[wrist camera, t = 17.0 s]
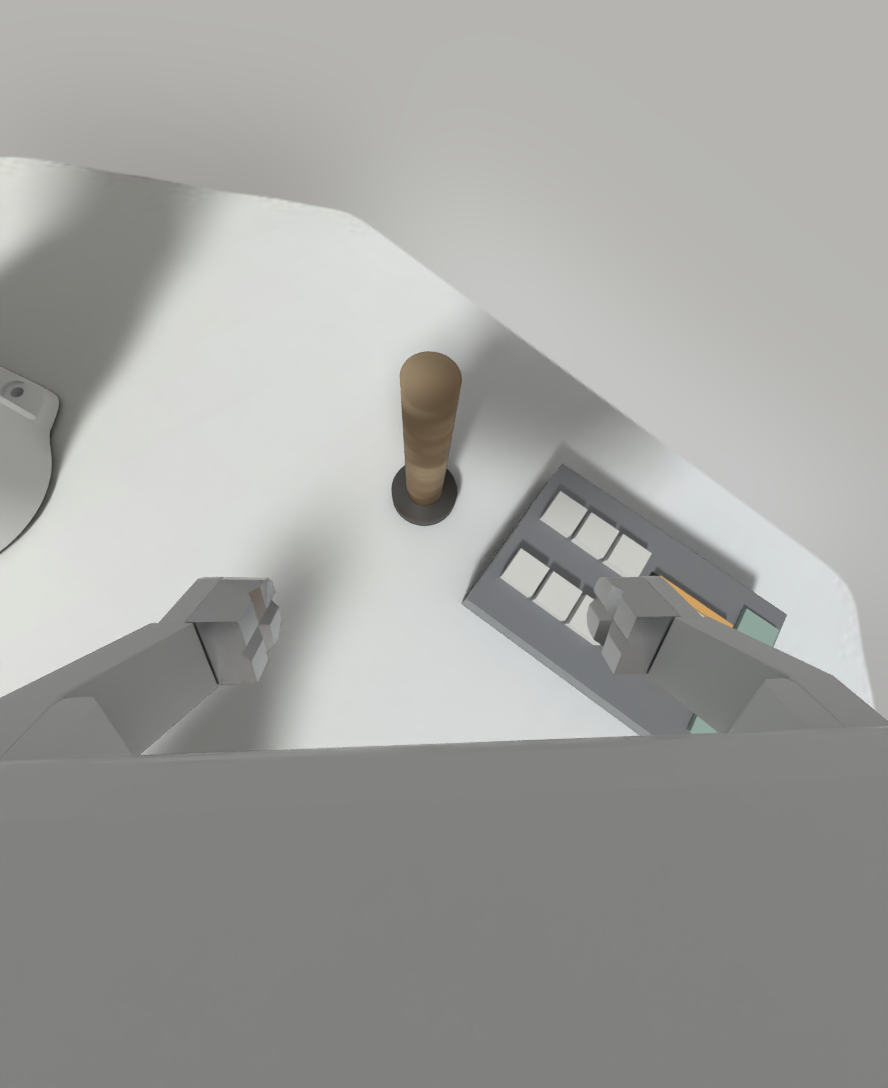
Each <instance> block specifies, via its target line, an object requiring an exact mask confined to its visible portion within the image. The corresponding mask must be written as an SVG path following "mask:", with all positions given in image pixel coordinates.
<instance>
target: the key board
mask: <svg viewBox="0 0 888 1088" xmlns="http://www.w3.org/2000/svg"><path fill="white" fill-rule="evenodd" d="M660 575H661V576H662V577H664V578H665V579H667V580H668V581H670V582H671V583H672V584H674V585H675V586H677V587H678V588H680V589H681V590H683V591H684V592H686V593H687V594H688V595H690V596H691V597H693V598H694V599H696V600H697V601H699V602H700V603H702V604H703V605H705V606H706V607H707V608H709V609H710V610H712V611H713V612H715V613H716V614H718V615H719V616H721V617H722V618H723V619H725V620H726V621H728V622H729V623H731V624H732V625H733V627H732V628H733V629H736V630H738V631H740V632H742V633H744V634H746V635H748V636H750V637H752V638H755V639H757V640H759V641H761V642H763V643H765V644H767V645H769V646H771V647H773V646H774V644H775V642H776V639H777V637H778V635H779V632H780V630H781V628H782V625H783V623H784V621H785V618H786V616H787V614H785V613H784V612H782V611H781V610H779V609H778V608H776V607H775V606H773V605H772V604H770V603H769V602H767V601H766V600H764V599H763V598H761V597H760V596H758V595H757V594H755V593H754V592H752V591H751V590H750V589H748V588H747V587H745V586H744V585H742V584H741V583H739V582H738V581H736V580H735V579H733V578H732V577H730V576H729V575H727V574H726V573H724V572H723V571H721V570H720V569H718V568H717V567H715V566H714V565H712V564H711V563H709V562H708V561H706V560H705V559H703V558H702V557H700V556H699V555H697V554H696V553H694V552H693V551H692V550H690V549H689V548H687V547H686V546H684V545H683V544H681V543H680V542H678V541H677V540H675V539H674V538H672V537H671V536H669V535H668V534H666V533H665V532H663V531H662V530H660V529H659V528H657V527H656V526H654V525H653V524H651V523H650V522H648V521H647V520H645V519H644V518H642V517H641V516H639V515H638V514H637V513H635V512H634V511H632V510H631V509H629V508H628V507H626V506H625V505H623V504H622V503H620V502H619V501H617V500H616V499H614V498H613V497H611V496H610V495H608V494H607V493H605V492H604V491H602V490H601V489H599V488H598V487H596V486H595V485H593V484H592V483H590V482H589V481H587V480H586V479H584V478H583V477H581V476H580V475H579V474H577V473H576V472H574V471H573V470H571V469H570V468H568V467H567V466H565V465H564V464H562V465H561V466H560V467H559V469H558V470H557V471H556V472H555V473H554V475H553V476H552V477H551V478H550V479H549V481H548V482H547V483H546V485H545V486H544V487H543V489H542V490H541V492H540V493H539V495H538V496H537V497H536V499H535V500H534V502H533V503H532V504H531V506H530V507H529V509H528V510H527V512H526V513H525V514H524V516H523V517H522V519H521V520H520V521H519V523H518V524H517V526H516V527H515V529H514V530H513V531H512V533H511V534H510V536H509V537H508V538H507V540H506V541H505V543H504V544H503V546H502V547H501V548H500V550H499V551H498V553H497V554H496V555H495V557H494V558H493V560H492V561H491V563H490V564H489V565H488V567H487V568H486V570H485V571H484V572H483V574H482V575H481V577H480V578H479V580H478V581H477V582H476V584H475V585H474V587H473V588H472V589H471V591H470V592H469V594H468V595H467V597H466V598H465V599H464V601H463V602H462V605H464V606H465V607H466V608H468V609H469V610H471V611H472V612H473V613H475V614H476V615H477V616H479V617H480V618H481V619H483V620H484V621H485V622H487V623H488V624H489V625H491V626H492V627H494V628H495V629H496V630H498V631H499V632H500V633H502V634H503V635H504V636H506V637H507V638H508V639H510V640H511V641H513V642H514V643H515V644H517V645H518V646H519V647H521V648H522V649H523V650H525V651H526V652H527V653H529V654H530V655H532V656H533V657H534V658H536V659H537V660H538V661H540V662H541V663H542V664H544V665H545V666H546V667H548V668H549V669H551V670H552V671H553V672H555V673H556V674H557V675H559V676H560V677H561V678H563V679H564V680H565V681H567V682H568V683H570V684H571V685H572V686H574V687H575V688H576V689H578V690H579V691H580V692H582V693H583V694H584V695H586V696H587V697H588V698H590V699H591V700H593V701H594V702H595V703H597V704H598V705H599V706H601V707H602V708H603V709H605V710H606V711H607V712H609V713H610V714H612V715H613V716H614V717H616V718H617V719H618V720H620V721H621V722H622V723H624V724H625V725H626V726H628V727H629V728H631V729H632V730H633V731H635V732H636V733H637V734H639V735H640V736H648V735H674V734H700V733H718V732H717V731H716V730H714V729H713V728H712V727H711V726H709V725H708V724H707V723H706V722H704V721H703V720H702V719H701V718H699V717H698V716H697V715H696V714H694V713H693V712H692V711H691V710H689V709H688V708H687V707H686V706H684V705H683V704H682V703H681V702H679V701H678V700H677V699H676V698H674V697H673V696H672V695H671V694H669V693H668V692H667V691H666V690H664V689H663V688H662V687H661V686H659V685H658V684H657V683H656V682H654V681H653V680H652V679H651V678H649V677H648V676H647V675H648V674H613V672H612V671H611V669H610V667H609V665H608V664H607V662H606V660H605V659H604V657H603V655H602V653H601V652H602V649H603V646H602V645H601V644H599V643H598V642H596V641H595V640H593V638H592V636H591V634H590V632H589V629H588V626H587V611H588V607H589V604H590V603H591V602H592V601H593V600H594V599H596V598H597V596H596V594H595V592H594V588H595V585H596V582H597V581H598V580H599V578H600V577H638V576H660Z"/></svg>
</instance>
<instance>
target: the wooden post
mask: <svg viewBox="0 0 888 1088" xmlns="http://www.w3.org/2000/svg"><path fill="white" fill-rule="evenodd" d="M461 382H462V377H461V372H460V370H459V368H458V366H457V365H456V363H455V362H454V361H453V360H452V359H450V358H449V357H447V356H446V355H443V354H441V353H437V352H421V353H418V354H415V355H413V356H411V357H410V358H409V359H408V360H406V362H405V363H404V364H403V366H402V368H401V371H400V387H401V404H402V420H403V437H404V453H405V466H404V467H402V468H401V469H400V470H399V471H398V473H397V474H396V476H395V477H394V480H393V483H392V498H393V503H394V506H395V508H396V510H397V512H398V513H399V514H400V516H401V517H403V518H404V519H405V520H407V521H408V522H410V523H412V524H415V525H420V526H429V525H433V524H437V523H439V522H441V521H442V520H444V519H445V518H446V517H447V516H448V515H449V514H450V512H451V511H452V509H453V507H454V504H455V500H456V496H457V486H456V482H455V479H454V477H453V476H452V474H451V473H450V471H449V470H448V469H447V468H446V467H447V461H448V455H449V450H450V444H451V438H452V433H453V427H454V421H455V416H456V410H457V404H458V399H459V393H460V387H461Z"/></svg>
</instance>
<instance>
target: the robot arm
mask: <svg viewBox="0 0 888 1088" xmlns="http://www.w3.org/2000/svg"><path fill="white" fill-rule="evenodd" d="M58 407H59V399H58V397H57V396H56V395H55V394H54V393H53V392H51V391H49V390H47V389H45V388H44V387H42V386H40V385H38V384H36V383H34V382H32V381H30V380H27V379H25V378H23V377H21V376H19V375H17V374H15V373H13V372H10V371H8V370H6V369H4V368H2V367H0V551H1V550H2V549H4V548H5V547H6V546H7V545H8V544H9V543H11V542H12V541H13V540H14V539H15V538H16V537H17V536H18V535H19V534H20V533H21V532H22V530H23V529H24V528H25V527H26V526H27V524H28V523H29V522H30V521H31V519H32V518H33V516H34V515H35V513H36V512H37V510H38V508H39V507H40V505H41V503H42V501H43V499H44V496H45V494H46V491H47V488H48V485H49V481H50V477H51V470H52V456H51V448H50V430H51V428H52V425H53V423H54V420H55V418H56V415H57V411H58ZM594 592H595V594H596V596H597V598H596V599H594V600H593V601H592V602H591V603H590V604H589V607H588V611H587V626H588V629H589V632H590V634H591V636H592V638H593V640H595V641H596V642H598V643H599V644H601V645H602V646H603V649H602V652H601V653H602V655H603V657H604V659H605V660H606V662H607V664H608V665H609V667H610V669H611V671H612V672H613V674H648V675H647V676H648V677H649V678H651V679H652V680H653V681H654V682H656V683H657V684H658V685H659V686H661V687H662V688H663V689H664V690H666V691H667V692H668V693H669V694H671V695H672V696H673V697H674V698H676V699H677V700H678V701H679V702H681V703H682V704H683V705H684V706H686V707H687V708H688V709H689V710H691V711H692V712H693V713H694V714H696V715H697V716H698V717H699V718H701V719H702V720H703V721H704V722H706V723H707V724H708V725H709V726H711V727H712V728H713V729H714V730H716V731H717V732H718V733H700V734H674V735H648V736H623V737H598V738H572V739H547V740H522V741H496V742H470V743H444V744H419V745H393V746H367V747H342V748H316V749H290V750H265V751H239V752H214V753H188V754H163V755H140V754H141V753H142V752H144V751H145V750H146V749H147V748H148V747H149V746H150V745H152V744H153V743H154V742H155V741H156V740H157V739H159V738H160V737H161V736H162V735H163V734H164V733H166V732H167V731H168V730H169V729H170V728H171V727H172V726H174V725H175V724H176V723H177V722H178V721H179V720H181V719H182V718H183V717H184V716H185V715H186V714H187V713H189V712H190V711H191V710H192V709H193V708H194V707H196V706H197V705H198V704H199V703H200V702H201V701H203V700H204V699H205V698H206V697H207V696H208V695H209V694H211V693H212V692H213V691H214V690H215V689H216V688H218V685H228V684H247V683H258V682H259V680H260V677H261V675H262V673H263V671H264V669H265V666H266V664H267V662H268V660H269V659H268V656H267V652H266V651H268V650H269V649H270V648H272V647H273V646H275V644H276V642H277V640H278V637H279V634H280V628H281V614H280V609H279V606H278V605H276V604H275V603H274V602H273V601H272V598H273V596H274V594H275V589H274V585H273V581H272V580H270V579H269V578H247V577H225V578H224V577H203V578H200V579H197V581H196V582H195V583H194V584H193V585H192V586H191V587H190V588H189V589H188V591H187V592H186V593H185V594H184V595H183V596H182V597H181V598H180V599H179V601H178V602H177V603H176V604H175V605H174V606H173V607H172V608H171V610H170V611H169V612H168V613H167V614H166V615H165V616H164V617H163V618H162V620H161V621H160V622H159V623H150V624H148V625H146V626H144V627H142V628H140V629H138V630H136V631H134V632H132V633H130V634H128V635H126V636H124V637H122V638H120V639H118V640H116V641H114V642H112V643H110V644H108V645H106V646H104V647H102V648H100V649H98V650H96V651H94V652H92V653H90V654H88V655H86V656H84V657H82V658H80V659H78V660H76V661H74V662H72V663H70V664H68V665H66V666H64V667H62V668H60V669H58V670H56V671H54V672H52V673H50V674H48V675H46V676H44V677H42V678H40V679H38V680H36V681H34V682H32V683H30V684H28V685H25V686H23V687H21V688H19V689H17V690H15V691H13V692H11V693H9V694H7V695H5V696H3V697H2V698H1V699H0V1088H888V721H887V720H886V719H885V718H883V717H882V716H881V715H880V714H879V713H877V712H876V711H875V710H874V709H873V708H871V707H870V706H869V705H868V704H867V703H865V702H864V701H863V700H862V699H860V698H859V697H858V696H857V695H856V694H854V693H853V692H852V691H851V690H850V689H848V688H847V687H846V686H845V685H844V684H842V683H841V682H840V681H839V680H837V679H836V678H835V677H834V676H832V675H830V674H828V673H826V672H824V671H822V670H820V669H818V668H815V667H813V666H811V665H809V664H807V663H805V662H803V661H801V660H799V659H797V658H794V657H792V656H790V655H788V654H786V653H784V652H782V651H780V650H778V649H776V648H773V647H771V646H769V645H767V644H765V643H763V642H761V641H759V640H757V639H755V638H752V637H750V636H748V635H746V634H744V633H742V632H740V631H738V630H736V629H733V628H731V627H729V626H727V625H725V624H723V623H721V622H719V621H717V620H715V619H712V618H710V617H702V616H701V615H700V614H699V613H698V612H697V611H696V610H695V609H694V608H693V607H692V606H691V605H690V604H689V603H688V602H687V601H686V600H685V599H684V598H683V597H682V596H681V595H680V594H679V593H678V592H677V591H676V590H675V589H674V588H673V587H672V586H671V585H670V584H669V583H668V582H667V581H666V580H665V579H664V578H662V577H659V576H638V577H600V578H599V580H598V581H597V582H596V585H595V588H594Z"/></svg>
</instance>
